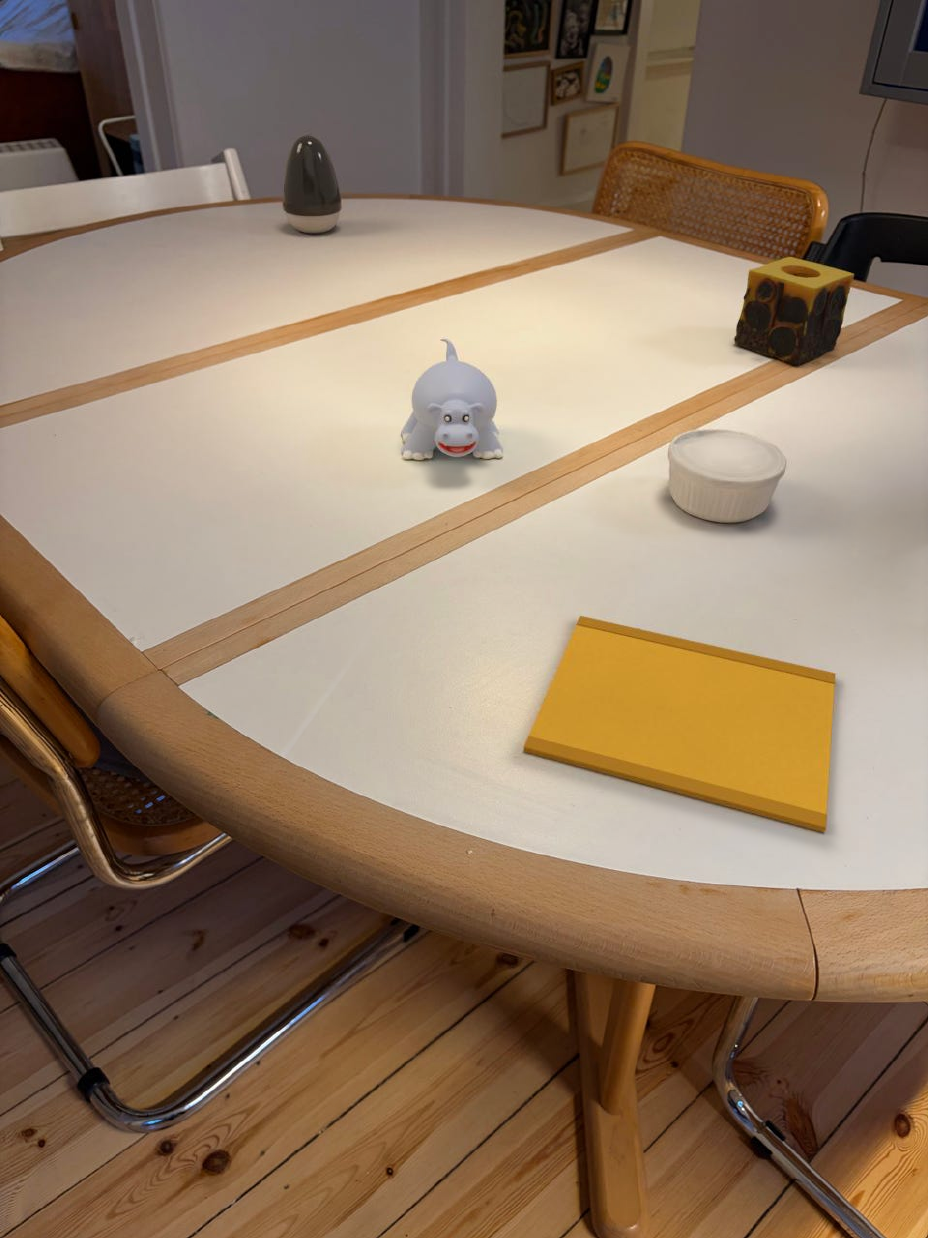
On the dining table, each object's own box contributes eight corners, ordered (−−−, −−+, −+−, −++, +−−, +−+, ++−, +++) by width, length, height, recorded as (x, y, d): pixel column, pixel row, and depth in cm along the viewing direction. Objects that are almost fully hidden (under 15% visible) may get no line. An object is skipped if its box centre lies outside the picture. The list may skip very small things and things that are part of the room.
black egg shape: (344, 221, 170) (339, 128, 161) (341, 237, 162) (336, 140, 152) (287, 221, 169) (279, 127, 160) (282, 237, 161) (273, 140, 152)
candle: (796, 367, 120) (816, 289, 114) (730, 345, 126) (745, 269, 119) (837, 349, 125) (858, 273, 119) (772, 327, 131) (789, 254, 125)
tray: (834, 678, 71) (835, 673, 71) (824, 833, 59) (826, 827, 59) (579, 620, 76) (580, 615, 76) (522, 751, 64) (523, 746, 64)
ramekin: (712, 463, 99) (722, 416, 95) (799, 508, 92) (812, 459, 88) (636, 492, 93) (644, 445, 90) (722, 543, 86) (733, 493, 83)
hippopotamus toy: (403, 486, 93) (401, 397, 87) (400, 420, 105) (398, 337, 99) (510, 484, 94) (515, 396, 88) (495, 419, 106) (498, 337, 100)
